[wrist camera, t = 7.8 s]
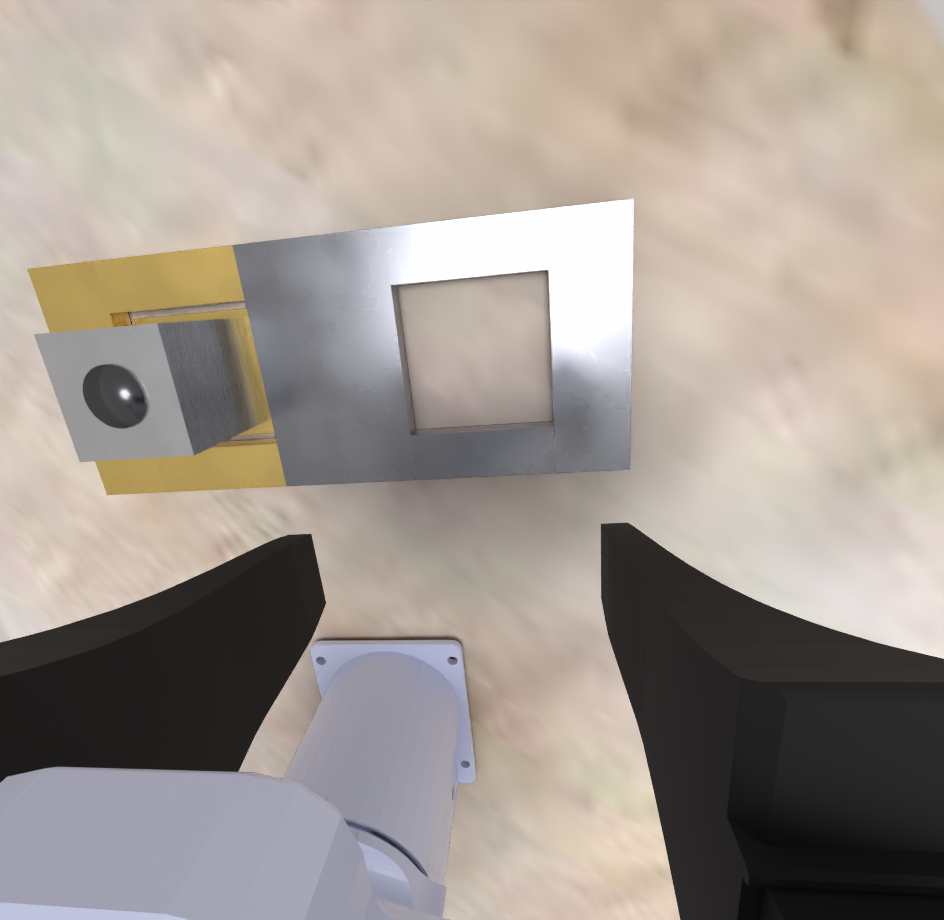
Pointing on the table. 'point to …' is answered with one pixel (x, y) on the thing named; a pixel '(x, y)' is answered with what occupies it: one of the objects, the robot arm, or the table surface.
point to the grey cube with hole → (153, 387)
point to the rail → (378, 347)
